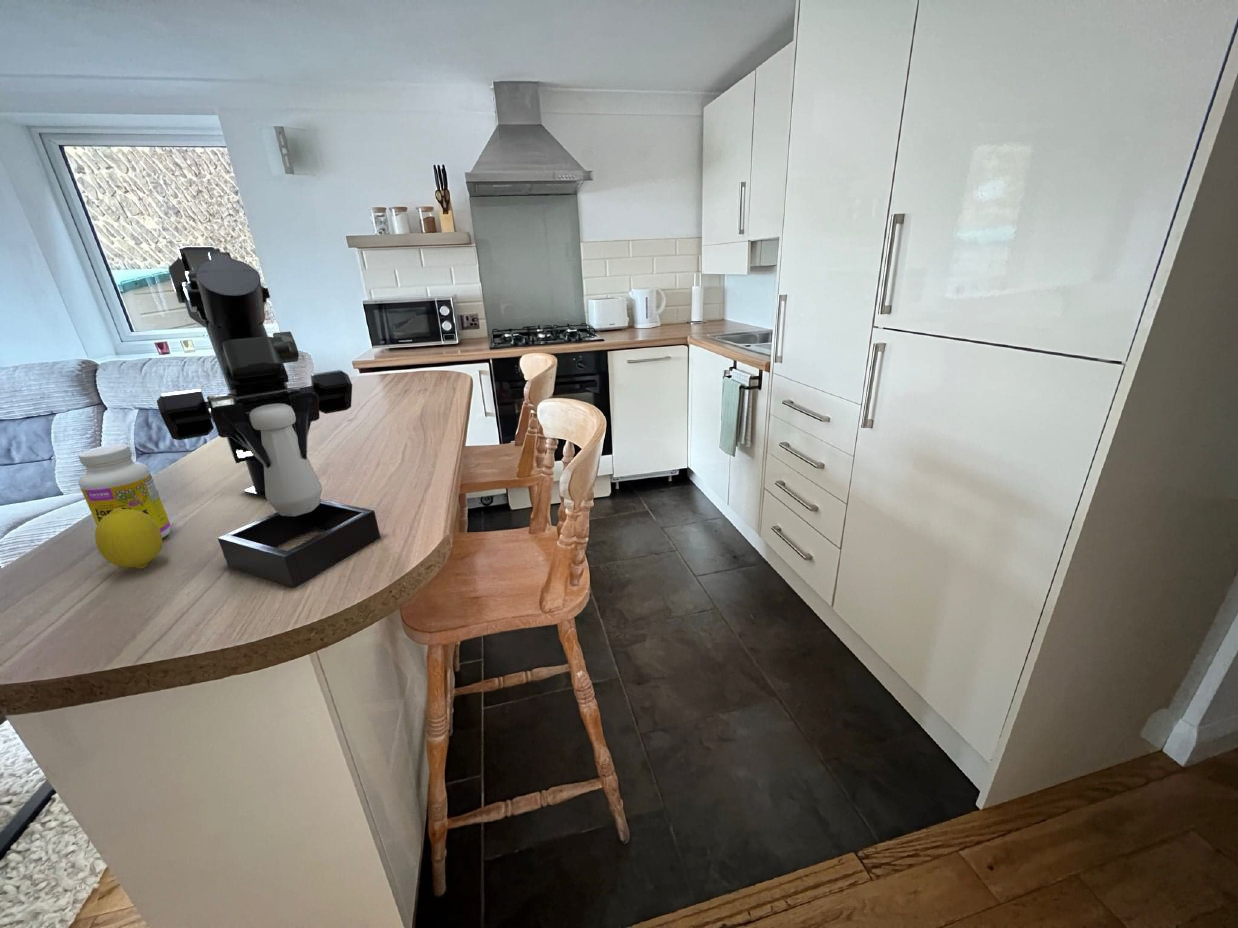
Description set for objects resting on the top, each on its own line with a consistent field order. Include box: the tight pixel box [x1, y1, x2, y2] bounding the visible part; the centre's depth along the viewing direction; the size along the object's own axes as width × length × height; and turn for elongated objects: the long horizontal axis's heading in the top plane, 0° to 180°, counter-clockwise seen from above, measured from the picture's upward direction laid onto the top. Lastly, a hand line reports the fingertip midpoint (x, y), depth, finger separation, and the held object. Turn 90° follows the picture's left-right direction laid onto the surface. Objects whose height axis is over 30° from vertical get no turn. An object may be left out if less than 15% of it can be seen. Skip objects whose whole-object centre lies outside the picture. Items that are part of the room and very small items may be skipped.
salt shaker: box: [249, 404, 323, 516], centre depth 60 cm, size 6×6×13 cm
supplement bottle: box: [78, 443, 172, 539], centre depth 66 cm, size 7×7×13 cm
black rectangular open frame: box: [217, 498, 381, 589], centre depth 63 cm, size 12×12×4 cm
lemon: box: [94, 508, 163, 570], centre depth 60 cm, size 6×6×8 cm
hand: (286, 462), depth 59 cm, fingers closed on salt shaker, 3 cm apart
